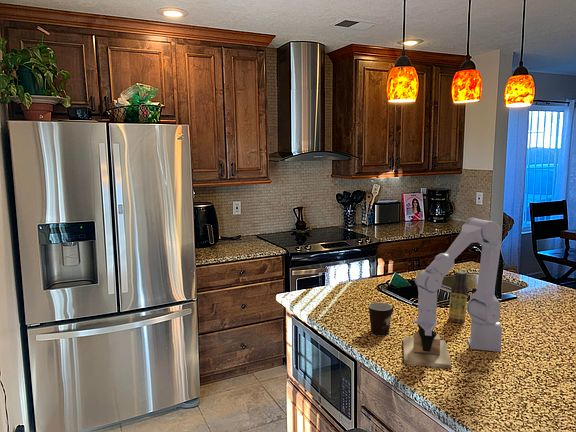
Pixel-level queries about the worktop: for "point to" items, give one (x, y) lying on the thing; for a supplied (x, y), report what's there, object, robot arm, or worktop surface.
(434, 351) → the block
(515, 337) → the worktop surface
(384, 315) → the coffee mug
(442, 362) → the board
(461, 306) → the sauce bottle
